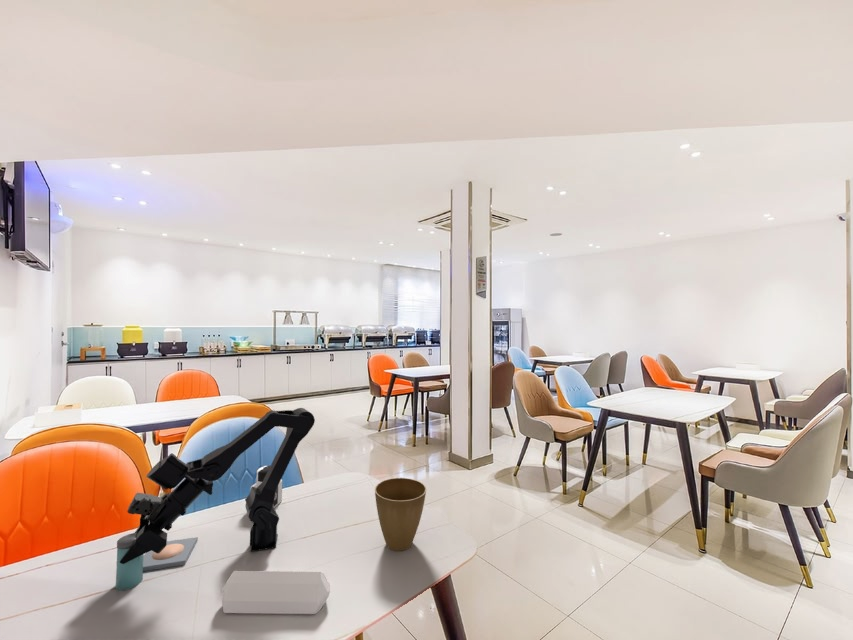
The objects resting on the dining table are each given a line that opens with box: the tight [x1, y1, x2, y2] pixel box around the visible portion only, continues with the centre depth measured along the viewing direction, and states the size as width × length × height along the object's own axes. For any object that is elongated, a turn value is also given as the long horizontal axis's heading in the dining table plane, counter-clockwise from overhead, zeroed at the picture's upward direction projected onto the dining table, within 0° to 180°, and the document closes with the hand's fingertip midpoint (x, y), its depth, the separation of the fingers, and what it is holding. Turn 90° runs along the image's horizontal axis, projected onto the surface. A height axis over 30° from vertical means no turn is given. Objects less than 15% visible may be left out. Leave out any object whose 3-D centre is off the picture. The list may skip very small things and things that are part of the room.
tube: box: [115, 532, 145, 591], centre depth 87 cm, size 5×5×10 cm
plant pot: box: [374, 477, 427, 552], centre depth 105 cm, size 15×15×16 cm
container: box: [249, 465, 283, 509], centre depth 126 cm, size 8×8×13 cm
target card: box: [143, 536, 199, 572], centre depth 98 cm, size 11×11×1 cm
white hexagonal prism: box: [221, 570, 331, 615], centre depth 82 cm, size 7×7×24 cm
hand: (123, 556), depth 86 cm, fingers closed on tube, 5 cm apart
